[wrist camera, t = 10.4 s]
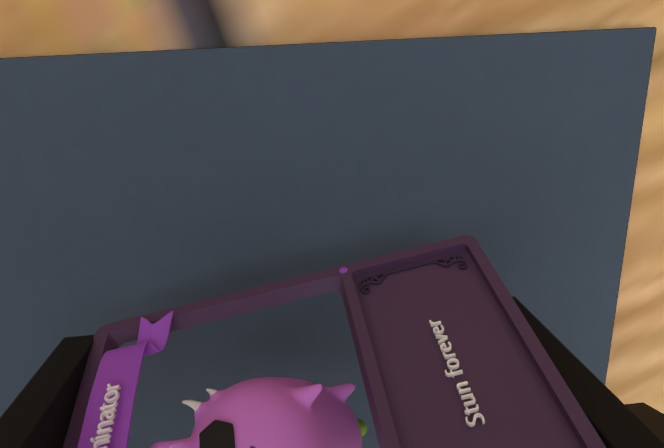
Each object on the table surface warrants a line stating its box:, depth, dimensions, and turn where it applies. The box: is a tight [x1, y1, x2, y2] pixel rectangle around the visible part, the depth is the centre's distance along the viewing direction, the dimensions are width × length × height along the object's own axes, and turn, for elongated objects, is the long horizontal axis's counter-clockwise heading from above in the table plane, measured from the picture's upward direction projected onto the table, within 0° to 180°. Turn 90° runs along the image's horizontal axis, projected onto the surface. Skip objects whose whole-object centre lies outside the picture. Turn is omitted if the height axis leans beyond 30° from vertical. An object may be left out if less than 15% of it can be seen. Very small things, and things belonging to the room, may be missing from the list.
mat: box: [0, 27, 656, 448], centre depth 15 cm, size 20×15×1 cm
